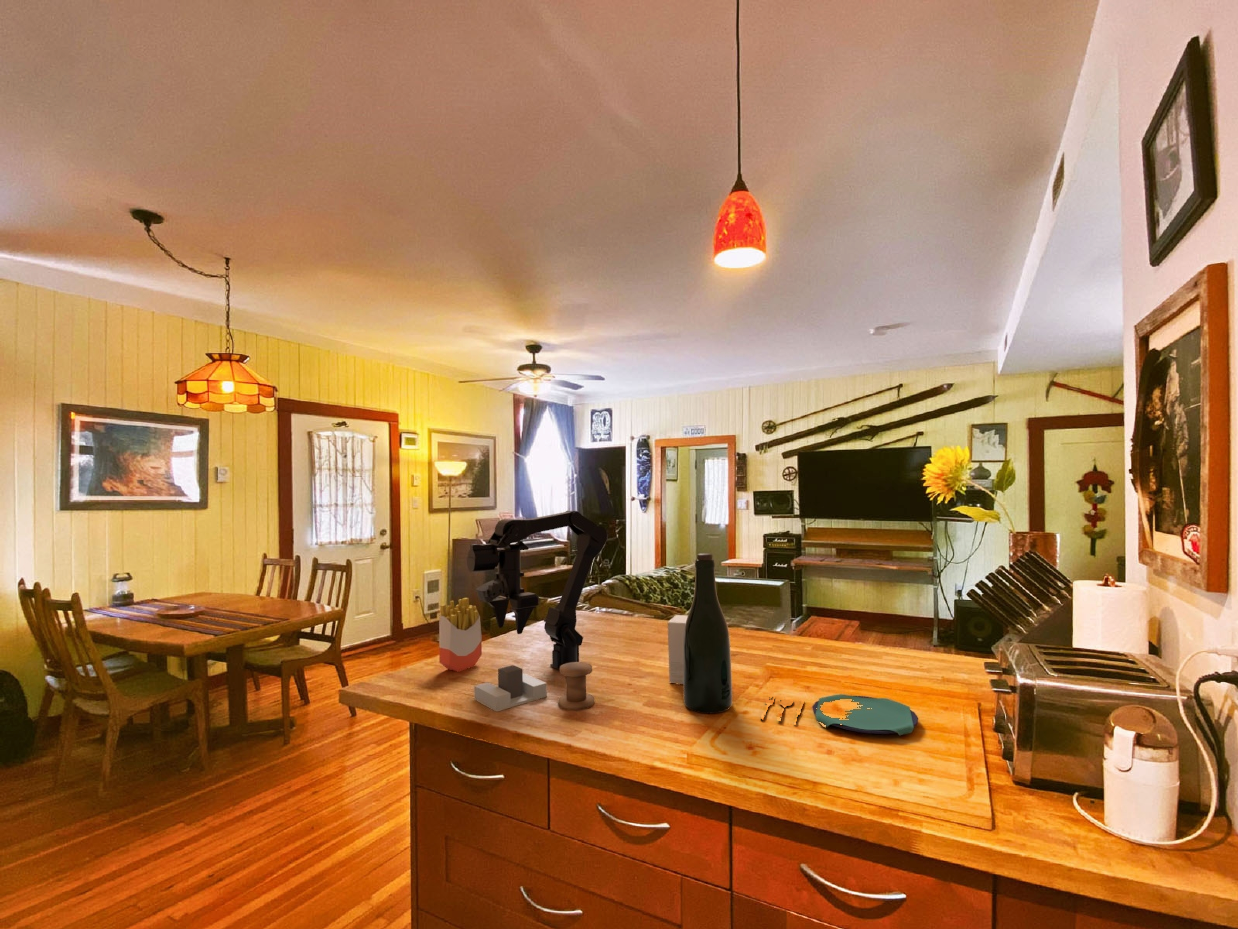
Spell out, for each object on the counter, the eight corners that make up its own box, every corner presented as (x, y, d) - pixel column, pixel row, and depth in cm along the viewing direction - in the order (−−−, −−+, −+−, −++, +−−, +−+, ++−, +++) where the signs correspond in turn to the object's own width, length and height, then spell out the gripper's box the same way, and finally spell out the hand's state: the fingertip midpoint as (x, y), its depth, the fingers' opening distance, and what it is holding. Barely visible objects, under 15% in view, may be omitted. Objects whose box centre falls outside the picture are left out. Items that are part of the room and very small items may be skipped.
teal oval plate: (923, 748, 104) (923, 735, 105) (755, 727, 116) (755, 715, 116) (914, 710, 123) (914, 699, 123) (770, 695, 134) (769, 685, 134)
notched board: (523, 686, 141) (523, 673, 141) (546, 696, 133) (546, 683, 133) (474, 699, 132) (474, 685, 132) (496, 711, 125) (496, 697, 125)
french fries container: (482, 664, 159) (482, 598, 159) (450, 675, 150) (450, 605, 151) (471, 661, 161) (471, 596, 162) (439, 672, 153) (438, 603, 153)
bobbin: (579, 694, 134) (579, 659, 135) (601, 703, 128) (601, 667, 129) (551, 703, 129) (550, 666, 129) (572, 713, 123) (572, 675, 123)
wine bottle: (702, 718, 119) (698, 557, 120) (674, 702, 128) (671, 552, 130) (742, 709, 124) (738, 554, 125) (712, 694, 133) (709, 549, 134)
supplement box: (711, 675, 146) (710, 616, 147) (705, 687, 138) (703, 624, 138) (676, 672, 149) (675, 614, 150) (668, 684, 140) (666, 621, 141)
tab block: (513, 691, 135) (513, 665, 136) (522, 695, 132) (522, 668, 133) (498, 695, 133) (498, 668, 133) (507, 700, 130) (507, 672, 130)
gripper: (463, 568, 149) (463, 629, 148) (499, 576, 135) (500, 643, 134) (501, 564, 156) (502, 622, 156) (540, 571, 142) (540, 635, 142)
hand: (509, 630), depth 147 cm, fingers open, 9 cm apart
